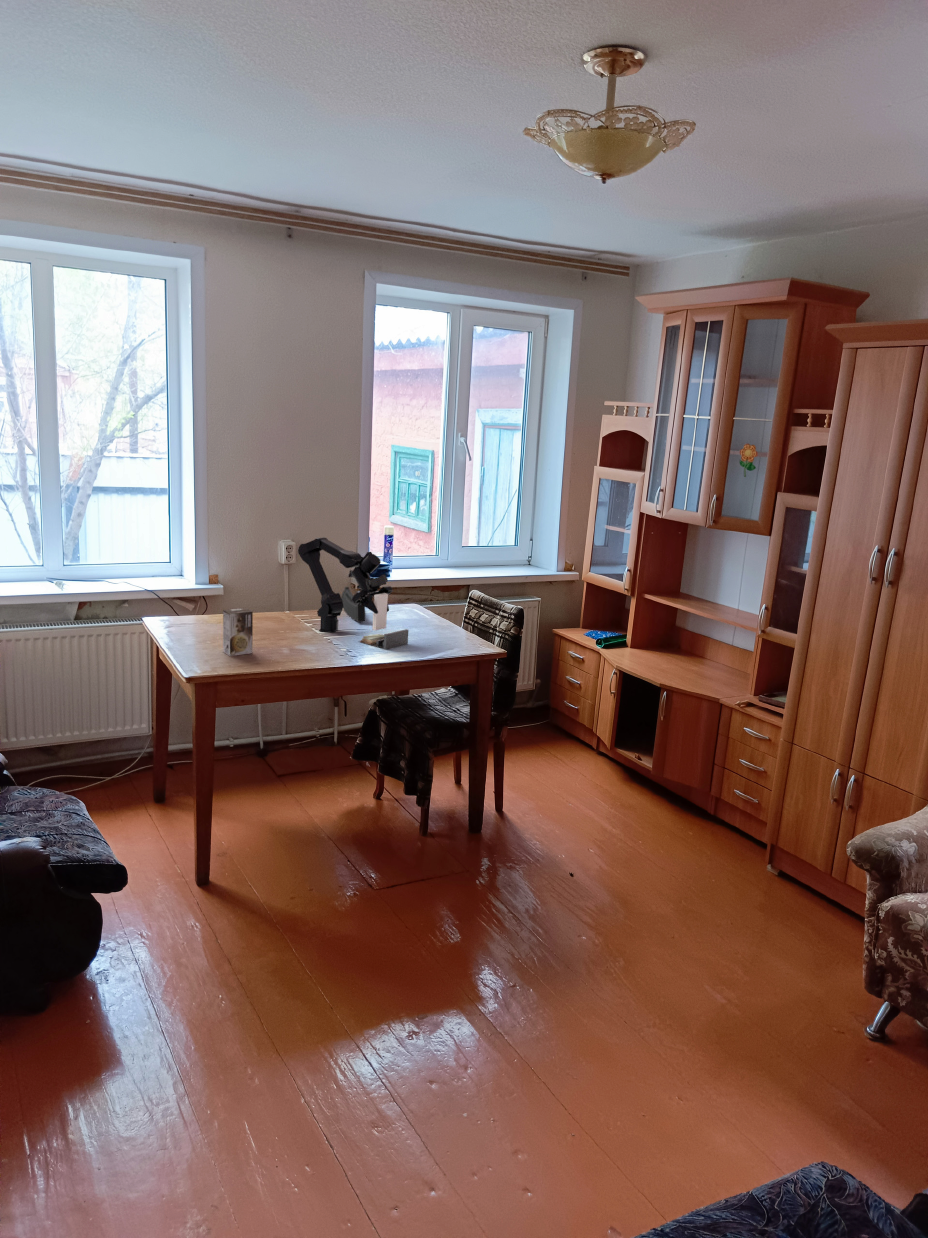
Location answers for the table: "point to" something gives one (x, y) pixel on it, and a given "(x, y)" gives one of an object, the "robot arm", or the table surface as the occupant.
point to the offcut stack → (372, 638)
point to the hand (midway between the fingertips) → (382, 612)
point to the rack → (392, 640)
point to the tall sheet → (380, 611)
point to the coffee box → (237, 631)
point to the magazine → (352, 606)
